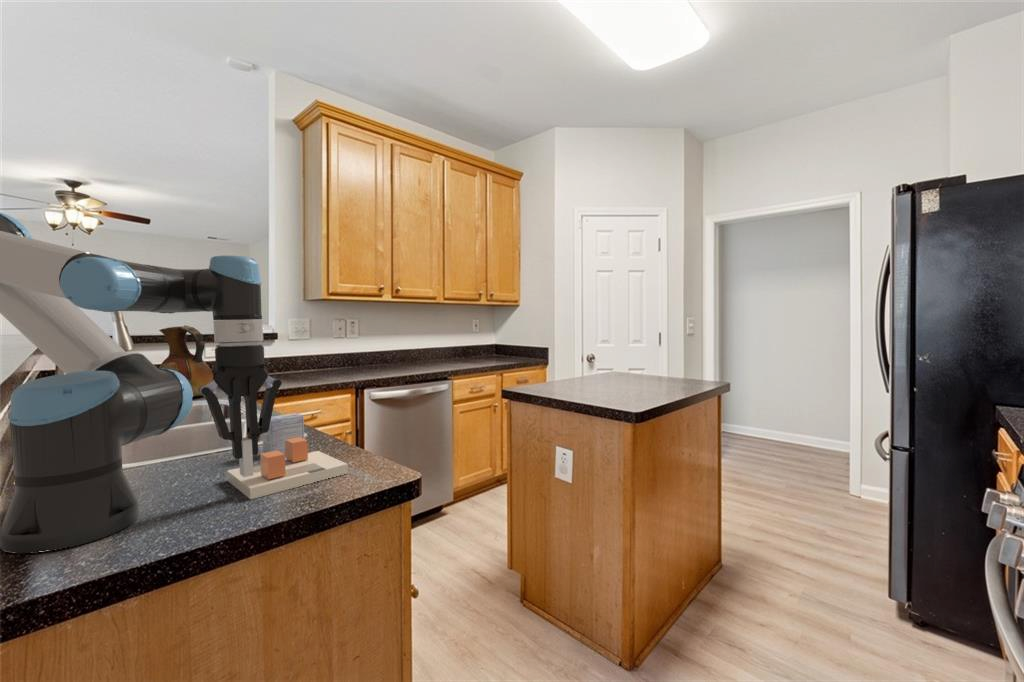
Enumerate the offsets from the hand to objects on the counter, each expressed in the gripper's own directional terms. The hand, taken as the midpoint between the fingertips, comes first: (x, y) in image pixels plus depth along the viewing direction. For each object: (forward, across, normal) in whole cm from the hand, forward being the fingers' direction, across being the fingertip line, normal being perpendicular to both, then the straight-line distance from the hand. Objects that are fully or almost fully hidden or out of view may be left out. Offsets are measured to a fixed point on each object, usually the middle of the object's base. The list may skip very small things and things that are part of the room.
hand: (246, 474), depth 82 cm
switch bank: (+4, +8, +4) cm, 10 cm away
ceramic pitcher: (+3, +15, +135) cm, 136 cm away
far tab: (+2, +12, +8) cm, 14 cm away
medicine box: (+4, +14, +23) cm, 27 cm away
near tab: (+2, +5, 0) cm, 5 cm away
